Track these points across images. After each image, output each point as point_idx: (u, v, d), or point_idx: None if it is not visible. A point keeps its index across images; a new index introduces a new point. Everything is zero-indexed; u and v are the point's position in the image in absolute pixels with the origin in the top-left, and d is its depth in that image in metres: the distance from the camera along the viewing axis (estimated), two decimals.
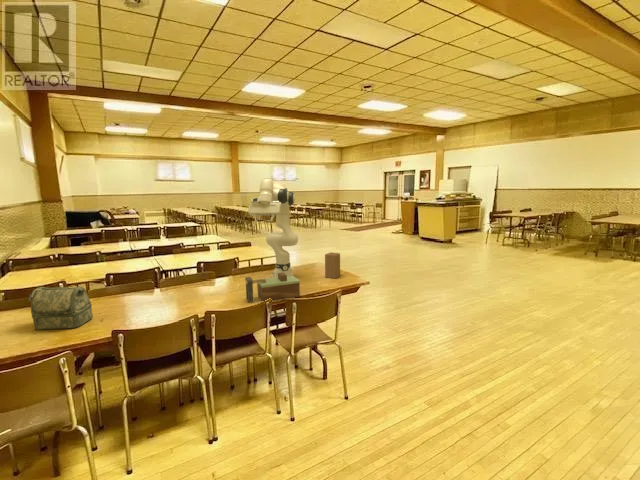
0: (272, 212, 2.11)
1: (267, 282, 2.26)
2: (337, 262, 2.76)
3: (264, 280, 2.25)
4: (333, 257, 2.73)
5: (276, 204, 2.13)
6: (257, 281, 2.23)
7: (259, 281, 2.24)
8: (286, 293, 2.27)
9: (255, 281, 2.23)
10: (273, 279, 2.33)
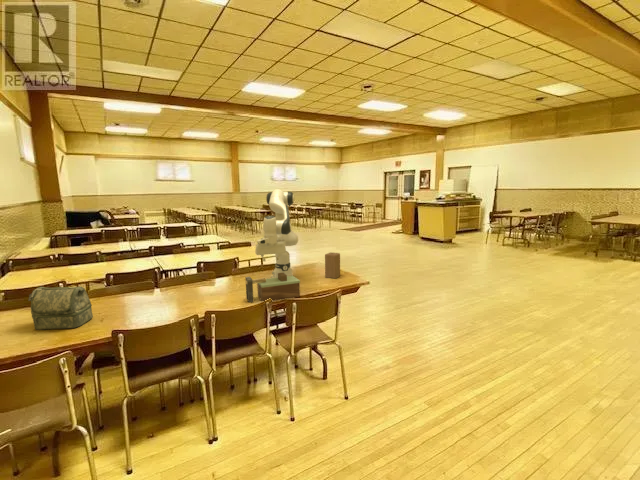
0: (279, 252, 2.25)
1: (267, 282, 2.26)
2: (337, 262, 2.76)
3: (264, 280, 2.25)
4: (333, 257, 2.73)
5: (282, 244, 2.25)
6: (257, 281, 2.23)
7: (259, 281, 2.24)
8: (286, 293, 2.27)
9: (255, 281, 2.23)
10: (273, 279, 2.33)
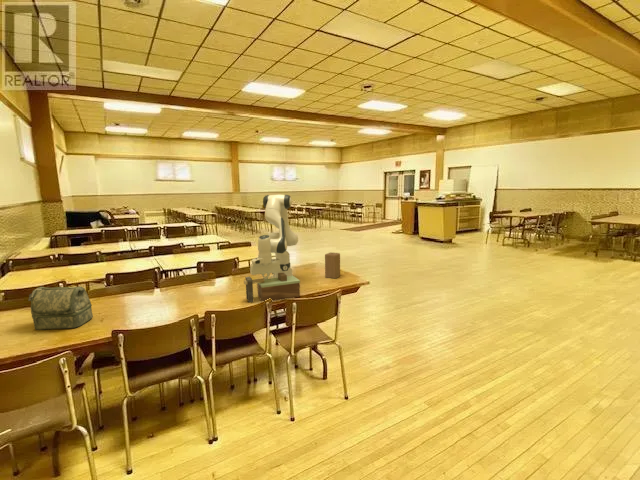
0: (274, 271, 2.27)
1: (267, 282, 2.26)
2: (337, 262, 2.76)
3: (262, 280, 2.25)
4: (333, 257, 2.73)
5: (277, 263, 2.27)
6: (255, 281, 2.23)
7: (257, 281, 2.23)
8: (286, 293, 2.27)
9: (253, 281, 2.22)
10: (273, 279, 2.33)
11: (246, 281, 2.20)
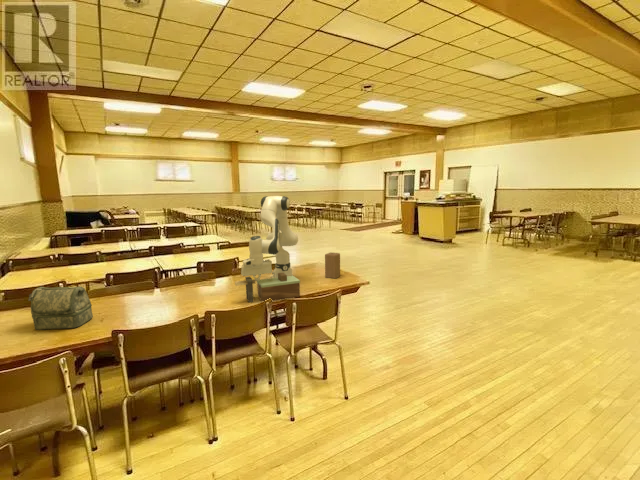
0: (265, 272, 2.24)
1: (267, 282, 2.26)
2: (337, 262, 2.76)
3: (254, 281, 2.22)
4: (333, 257, 2.73)
5: (268, 264, 2.24)
6: None
7: None
8: (286, 293, 2.27)
9: (244, 282, 2.20)
10: (273, 279, 2.33)
11: (237, 282, 2.18)
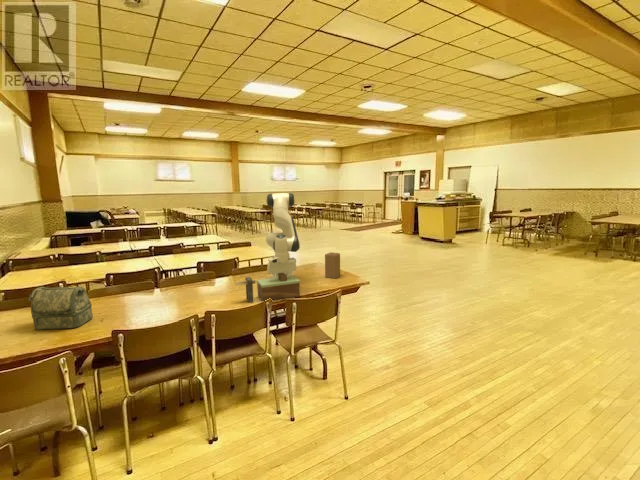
0: (290, 270, 2.31)
1: (267, 282, 2.26)
2: (337, 262, 2.76)
3: (254, 281, 2.22)
4: (333, 257, 2.73)
5: (293, 262, 2.31)
6: None
7: None
8: (286, 293, 2.27)
9: (244, 282, 2.20)
10: (273, 279, 2.33)
11: (237, 282, 2.18)
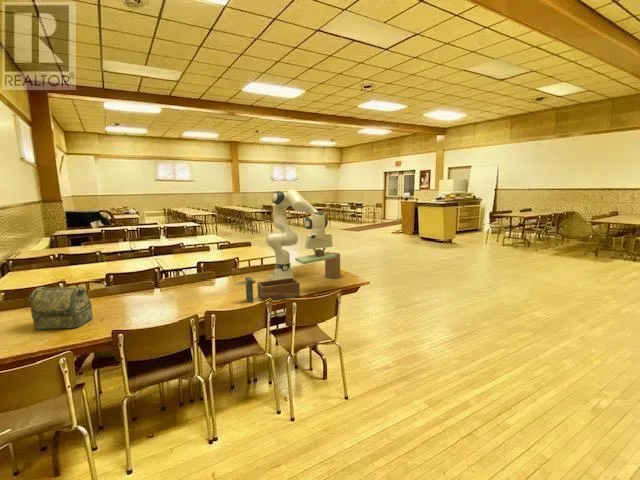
0: (327, 246, 2.43)
1: (306, 258, 2.37)
2: (337, 262, 2.76)
3: (254, 281, 2.22)
4: None
5: (329, 238, 2.43)
6: None
7: None
8: (286, 293, 2.27)
9: (244, 282, 2.20)
10: (311, 256, 2.44)
11: (237, 282, 2.18)
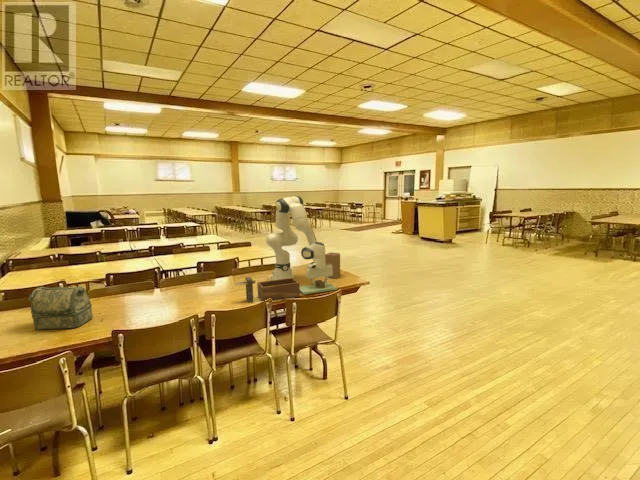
0: (327, 275, 2.46)
1: (306, 289, 2.41)
2: (337, 262, 2.76)
3: (254, 281, 2.22)
4: (333, 257, 2.73)
5: (330, 267, 2.46)
6: None
7: None
8: (286, 293, 2.27)
9: (244, 282, 2.20)
10: (311, 286, 2.48)
11: (237, 282, 2.18)
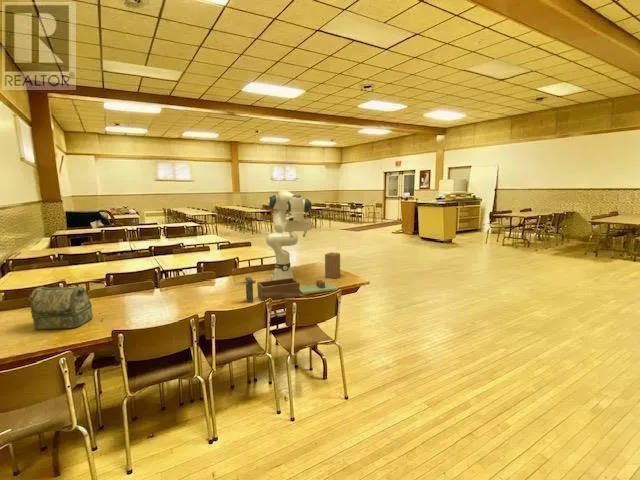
0: (305, 229, 2.41)
1: (306, 289, 2.41)
2: (337, 262, 2.76)
3: (254, 281, 2.22)
4: (333, 257, 2.73)
5: (308, 222, 2.40)
6: None
7: None
8: (286, 293, 2.27)
9: (244, 282, 2.20)
10: (312, 286, 2.48)
11: (237, 282, 2.18)
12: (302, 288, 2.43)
